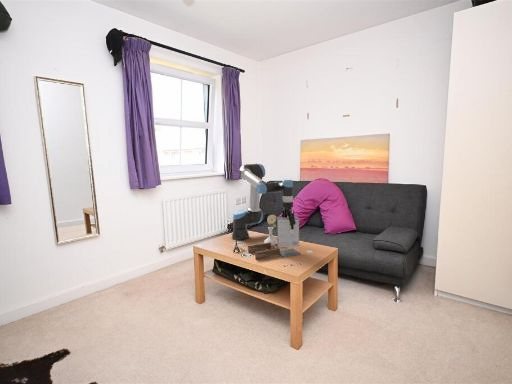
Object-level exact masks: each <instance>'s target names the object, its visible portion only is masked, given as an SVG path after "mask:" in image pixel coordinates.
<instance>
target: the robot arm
mask: <svg viewBox="0 0 512 384" xmlns="http://www.w3.org/2000/svg"><path fill="white" fill-rule="evenodd" d="M238 176H239V178H240V179H242V180H243V181H246V182H248V183H249V184H250V185H249V186H250V187H249V207H248V208H247V211H246V210H245V209H244V210H237V211H234V213H233V214H232V221H233V223H232V224H233V230H232V233H231V239H233V240H235V241H236V238H237V241H242V240H243V241H245V240H248V239H250V234H249V231H248V228H247V227H248V225H249V226H251V225H257V224H260V223H262V221H263V220H264V219H263V218H264V215H263V211H262V209H261V208H260V197H261V195H264V194H272V193H273V194H274V193H282V196H281V198H282V207H281V217H289V221H290V234H294V224H295V217H296V216H295V210H292V208H293V207H294V181H293V180H292V179H283V180H282V181H279V180H278V181H274V182H266V181H265V180H263V178H265V176H266V169H265V166H264V165H263V164H262V163H251V164H249V163H248V164H247V163H245V164H244V165H241V166H240V168H239V169H238Z"/></svg>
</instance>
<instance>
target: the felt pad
mask: <svg viewBox="0 0 512 384" xmlns="http://www.w3.org/2000/svg"><path fill="white" fill-rule="evenodd" d="M301 254H302V253H301V252H300V251H297V250H296V249H295V248H288V249H287V248H286V249H280V256H281V257H283V258H286V257H292V256H293V257H294V256H298V255H301Z"/></svg>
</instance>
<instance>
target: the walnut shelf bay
mask: <svg viewBox="0 0 512 384" xmlns="http://www.w3.org/2000/svg"><path fill="white" fill-rule="evenodd" d="M280 250H281V249H280V248H279V246H276V244H275V245H274V244H272V243H271V242H270V243H264V242H263V243H258V244H257V243H256V244H250V245H247V253H254V256H255V260H256V261H257V260H262V259H268V258H274V257H279V256H281V255H280Z"/></svg>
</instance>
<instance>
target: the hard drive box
mask: <svg viewBox="0 0 512 384" xmlns="http://www.w3.org/2000/svg"><path fill="white" fill-rule="evenodd" d="M294 217H295V224H294V234H290V221H289V217H288V216H287V217H282V216H281V217H280V216H279V217H277V216H276V219H277V220H276V226H277V227H276V228H277V241H278V243H277V247H300V219H299V217H298V216H294Z"/></svg>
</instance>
